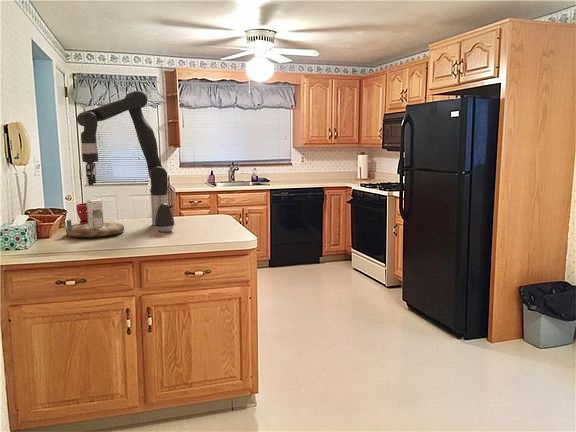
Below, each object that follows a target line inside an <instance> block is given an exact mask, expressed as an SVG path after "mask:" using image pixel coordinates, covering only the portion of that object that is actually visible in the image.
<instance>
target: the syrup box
mask: <svg viewBox="0 0 576 432" xmlns="http://www.w3.org/2000/svg"><path fill="white" fill-rule="evenodd" d="M85 203H86V204H87V219H88V227H89V228H93V229H94V228H101V227H103V223H104V214H103V212H104V210H103V200H102V199H100V198H99V199H98V198H95V199H93V198H92V199H87V200H85Z"/></svg>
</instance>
